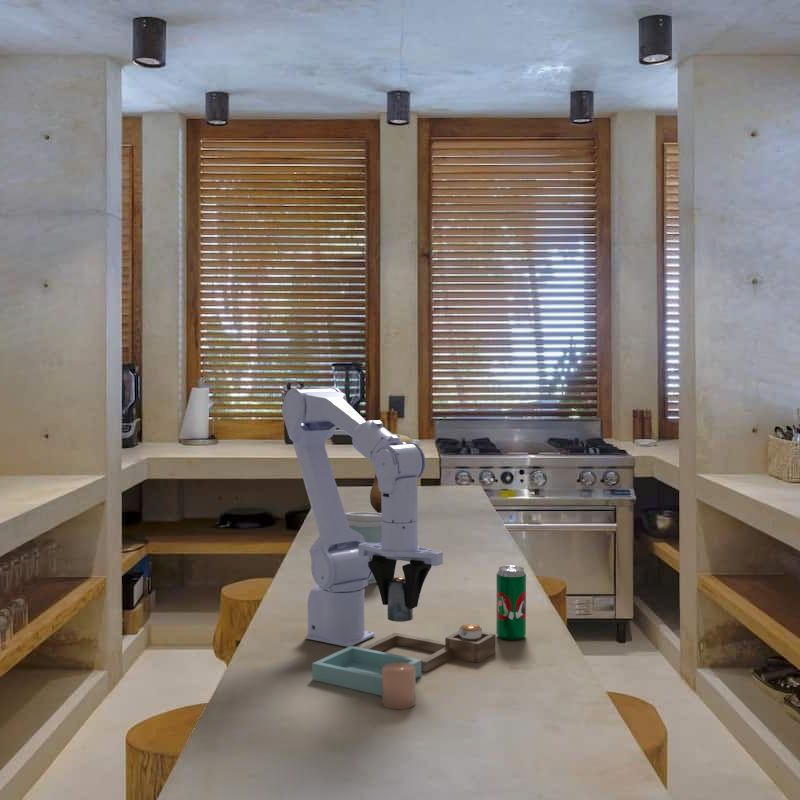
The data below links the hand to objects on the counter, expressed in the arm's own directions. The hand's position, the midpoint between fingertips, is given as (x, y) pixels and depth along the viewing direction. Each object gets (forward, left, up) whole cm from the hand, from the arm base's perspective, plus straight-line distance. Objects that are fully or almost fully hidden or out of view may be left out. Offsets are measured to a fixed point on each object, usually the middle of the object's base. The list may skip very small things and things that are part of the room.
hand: (399, 605), depth 146 cm
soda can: (+9, +21, -9) cm, 25 cm away
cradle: (0, +2, -9) cm, 9 cm away
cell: (0, 0, -2) cm, 2 cm away
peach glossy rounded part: (+9, -15, -9) cm, 20 cm away
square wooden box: (+8, +9, -9) cm, 15 cm away
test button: (+8, +9, -7) cm, 14 cm away
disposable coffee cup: (-35, +41, -9) cm, 54 cm away
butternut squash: (-74, +112, -9) cm, 134 cm away
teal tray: (0, -9, -9) cm, 13 cm away
